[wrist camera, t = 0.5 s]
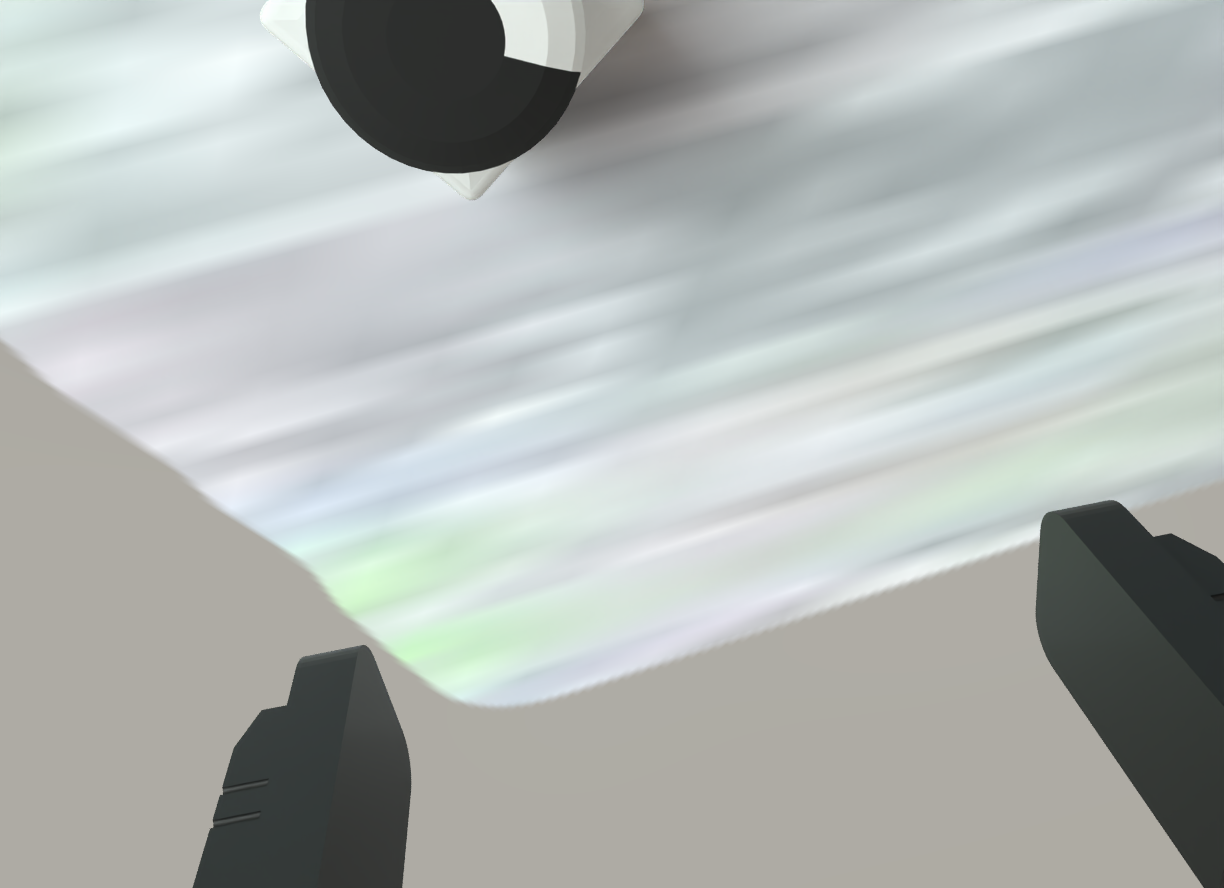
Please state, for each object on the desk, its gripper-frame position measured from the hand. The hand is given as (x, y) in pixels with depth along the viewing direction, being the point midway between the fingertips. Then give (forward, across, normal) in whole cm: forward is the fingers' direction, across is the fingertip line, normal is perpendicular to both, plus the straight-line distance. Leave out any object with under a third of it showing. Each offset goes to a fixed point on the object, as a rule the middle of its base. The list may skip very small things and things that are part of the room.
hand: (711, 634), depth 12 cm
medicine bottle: (+26, +3, -5) cm, 27 cm away
